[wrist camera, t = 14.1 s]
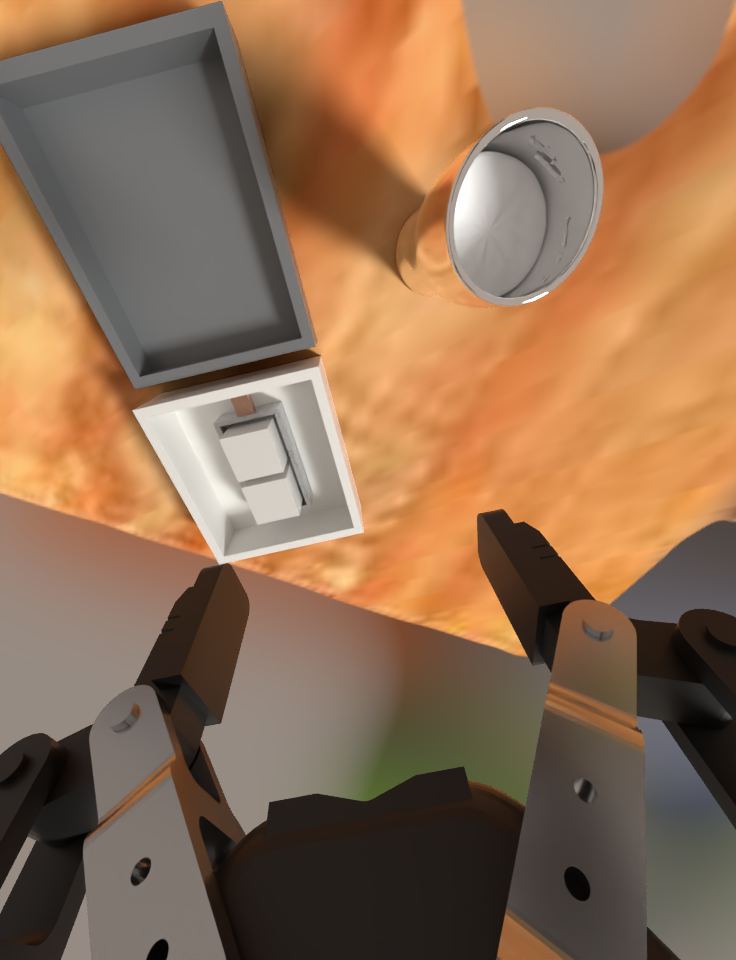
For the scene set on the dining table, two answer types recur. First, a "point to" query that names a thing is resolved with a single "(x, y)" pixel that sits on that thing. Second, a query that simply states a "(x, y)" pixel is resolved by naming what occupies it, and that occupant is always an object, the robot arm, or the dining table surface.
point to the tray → (159, 193)
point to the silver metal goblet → (506, 214)
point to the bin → (211, 481)
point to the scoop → (249, 411)
